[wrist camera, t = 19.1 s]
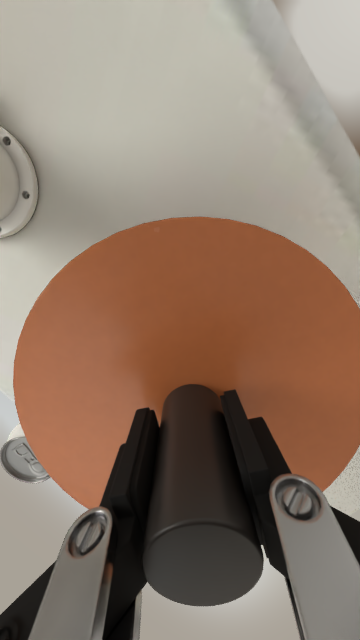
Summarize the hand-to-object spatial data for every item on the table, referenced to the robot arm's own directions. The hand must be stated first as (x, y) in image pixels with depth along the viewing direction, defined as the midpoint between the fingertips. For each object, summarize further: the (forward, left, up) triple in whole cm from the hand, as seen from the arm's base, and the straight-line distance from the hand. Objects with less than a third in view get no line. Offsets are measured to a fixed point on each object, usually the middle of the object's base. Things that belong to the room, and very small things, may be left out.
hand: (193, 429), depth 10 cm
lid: (0, 0, -2) cm, 2 cm away
